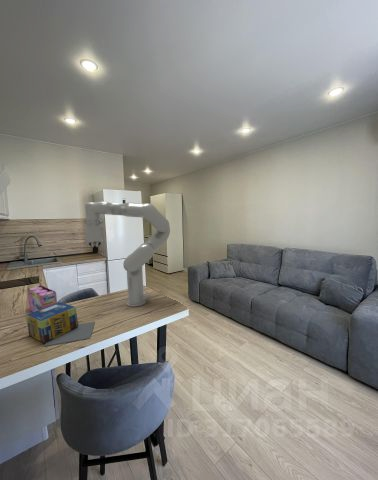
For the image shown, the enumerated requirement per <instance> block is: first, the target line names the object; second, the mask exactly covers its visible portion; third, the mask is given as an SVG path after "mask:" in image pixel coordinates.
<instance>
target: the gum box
mask: <svg viewBox="0 0 378 480" xmlns="http://www.w3.org/2000/svg"><path fill="white" fill-rule="evenodd" d="M27 296H28V297H27V298H28V307H29V310H30V311H31V313H32V312H35V311H38V310H40V309H43V308H46V307H48V306H51V305H54V304H56V303H58V300H57V299H58V298H57V292H56V291H55V290H53V289H50V288H48V287H46V286H44V285H42V284H41V285H38V286H37V287H31V288H30V287H28V288H27Z"/></svg>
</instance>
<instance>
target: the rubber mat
mask: <svg viewBox="0 0 378 480" xmlns="http://www.w3.org/2000/svg"><path fill="white" fill-rule="evenodd" d="M95 323H96V321H91V322H83V323H78V327H76V328H74V329H72V330H70V331H68V332H66V333H64V334H62V335H60V336H58V337H56V338H54V339H52V340H50V341H48V342H46V343H44V346H43V347H44V348H46V347H52V346H57V345H61V344H69V343H73V342H80V341H83V340H84V341H85V340H89V339H91V337H92V334H93V332H94V326H95Z"/></svg>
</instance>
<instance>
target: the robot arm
mask: <svg viewBox="0 0 378 480" xmlns="http://www.w3.org/2000/svg"><path fill="white" fill-rule="evenodd" d="M84 209H85V220H86V222H85V223H86V225H85V228H84V241H85V242H84V244H85V245H87V246H88V245H89V246H90V247H91V248H92V252H93V254H94V255H95V254H98V253H99V246H100V245H102V244H104V243H105V235H104V229H103V225H102V224H103V221H104V220H101V218H100V217H101V215H109V216H110V215H111V216H124V217H128V218H143V219H146V221H147V222H148V223H149V224H150V225H151V226H152V227H153V228H154V229H156V231H154V234H151V236H150V237H149V238H148V239H147V240H146V241H145V242H143V243H141V244H140V245H139V247H137V248H136V249H135V250H133V252H132V253H130V254H129V255H128V256H127V257H126V258H125V259H123V260H124V261H123V263H122V264H123V269H124V270H125V271H126V281H127V297H128V299H127V300H126V301H125V302H126V303H125V305H126V306H128V307H134V308H135V307H141V306H143V305H145V304H146V303H147V300H151V299H152V295H149V294H146V295H145V293H144V292H145V291H144V279H143V278H144V277H143V266H144V265H145V264H146V263H148V262H149V261H150V260H151V259H152V258H153V256H154V254H155V252H157V250H158V249H159V248H161V247H162V246H163V245H164V244H165V243H166V241H167V240H168V238H169V237H170V233H171V227H170V222H169V220H168V219H167V218H166V217H165V216H164V215H163V214H162V213H161V212H160V211H159V210H158V209H157V207H155V205H153V204H152V203H148V202H147V203H139V202H138V203H137V202H126V203H125V202H124V203H118V202H117V203H116V202H108V201H104V200H103V201H95V202H94V201H93V202H92V201H91V202H89V201H88V202H86V203H85V204H84Z"/></svg>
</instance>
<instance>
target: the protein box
mask: <svg viewBox="0 0 378 480" xmlns="http://www.w3.org/2000/svg"><path fill="white" fill-rule="evenodd" d="M25 316H26V323H27V329H28V330H27V331H28V335H29V336H30V337H32V338H33V339H36V340H37V341H40V342H41V343H44V344H46V343H47V342H48V341H50V340H52V339H54V338H56V337H58V336H60V335H62V334H64V333H66V332H68V331H70V330H72V329H74V328H76V327H78V324H79V321H78V314H77V307H76V306H73V305H71V304H67V303H63V302H59V301H58V302H57V303H56V304H54V305H51V306H48V307H46V308H43V309H40V310H38V311H35V312H32V311H31V312H30V313H27V314H25Z"/></svg>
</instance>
